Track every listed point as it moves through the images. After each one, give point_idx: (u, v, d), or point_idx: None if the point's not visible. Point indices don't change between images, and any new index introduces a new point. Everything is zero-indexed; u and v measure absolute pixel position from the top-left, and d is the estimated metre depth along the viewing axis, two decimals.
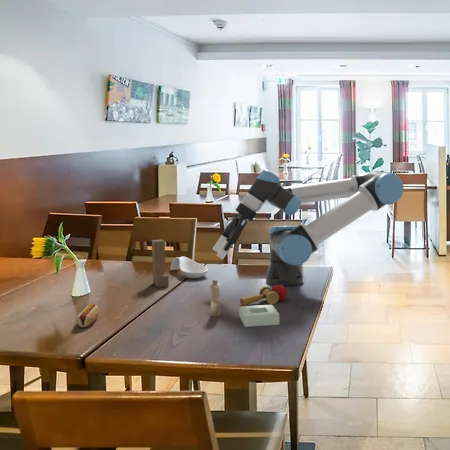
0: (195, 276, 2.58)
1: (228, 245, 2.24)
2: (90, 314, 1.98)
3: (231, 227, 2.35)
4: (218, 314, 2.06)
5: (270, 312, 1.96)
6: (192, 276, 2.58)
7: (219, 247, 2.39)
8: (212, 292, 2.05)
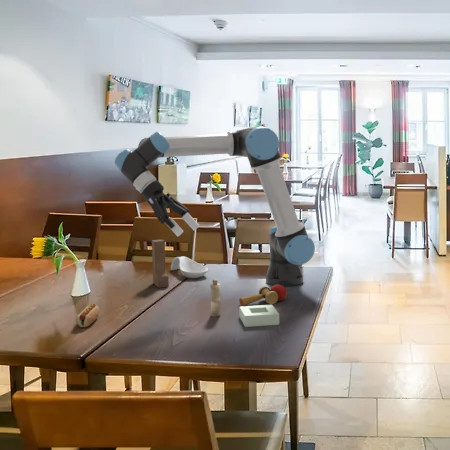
0: (195, 276, 2.59)
1: (167, 222, 2.07)
2: (90, 314, 1.98)
3: (171, 207, 2.19)
4: (218, 314, 2.06)
5: (270, 312, 1.96)
6: (192, 276, 2.59)
7: (193, 223, 2.19)
8: (212, 292, 2.05)
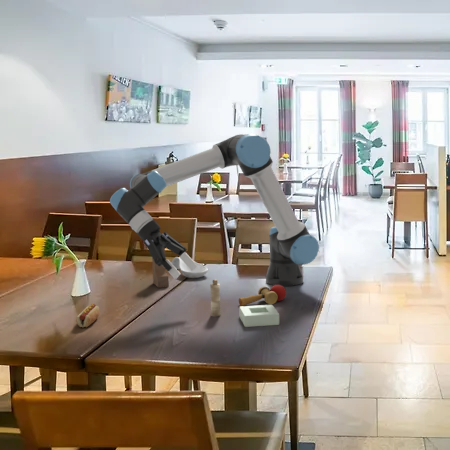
0: (195, 276, 2.59)
1: (164, 265, 2.01)
2: (90, 314, 1.98)
3: (168, 247, 2.13)
4: (218, 314, 2.06)
5: (270, 312, 1.96)
6: (192, 276, 2.59)
7: (191, 263, 2.14)
8: (212, 292, 2.05)
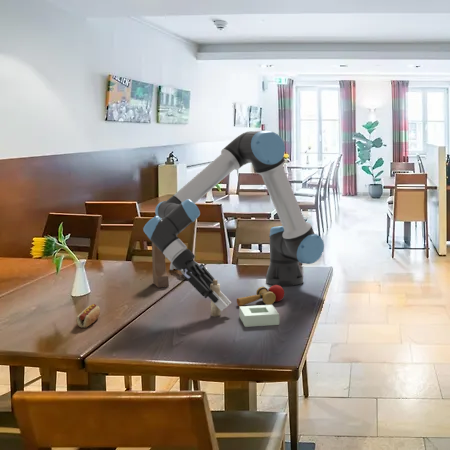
0: None
1: (211, 297, 2.03)
2: (90, 314, 1.97)
3: None
4: (218, 314, 2.06)
5: (270, 312, 1.96)
6: None
7: (225, 300, 2.07)
8: None
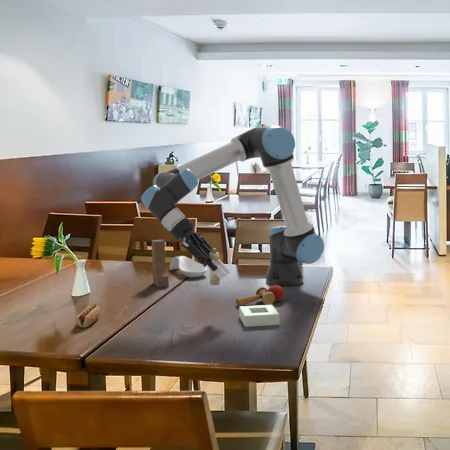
0: (194, 275, 2.60)
1: (210, 265, 2.01)
2: (90, 314, 1.97)
3: None
4: (217, 283, 2.04)
5: (270, 312, 1.96)
6: (191, 275, 2.60)
7: (224, 269, 2.05)
8: None
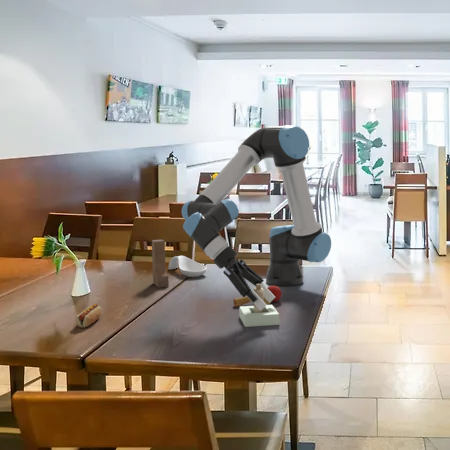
0: (194, 275, 2.61)
1: (250, 296, 1.93)
2: (90, 314, 1.97)
3: (244, 275, 2.02)
4: None
5: (270, 312, 1.96)
6: (191, 275, 2.61)
7: (269, 294, 2.02)
8: None
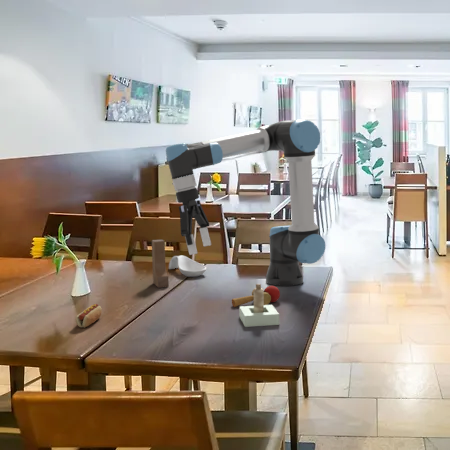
0: (194, 274, 2.61)
1: (187, 238, 2.03)
2: (90, 314, 1.97)
3: (195, 216, 2.14)
4: None
5: (270, 312, 1.96)
6: (191, 274, 2.61)
7: (207, 240, 2.17)
8: (255, 297, 1.97)
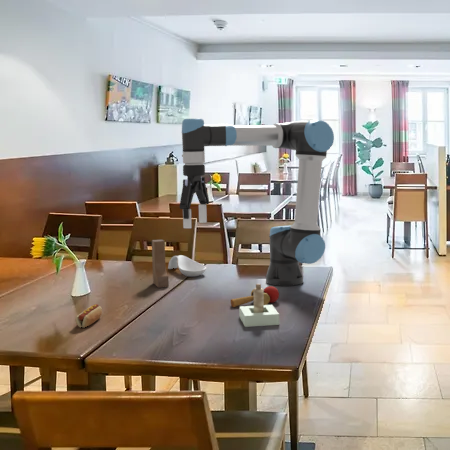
0: (194, 274, 2.62)
1: (184, 212, 2.06)
2: (89, 315, 1.97)
3: (197, 192, 2.17)
4: None
5: (270, 312, 1.96)
6: (191, 274, 2.62)
7: (203, 217, 2.20)
8: (255, 297, 1.97)
